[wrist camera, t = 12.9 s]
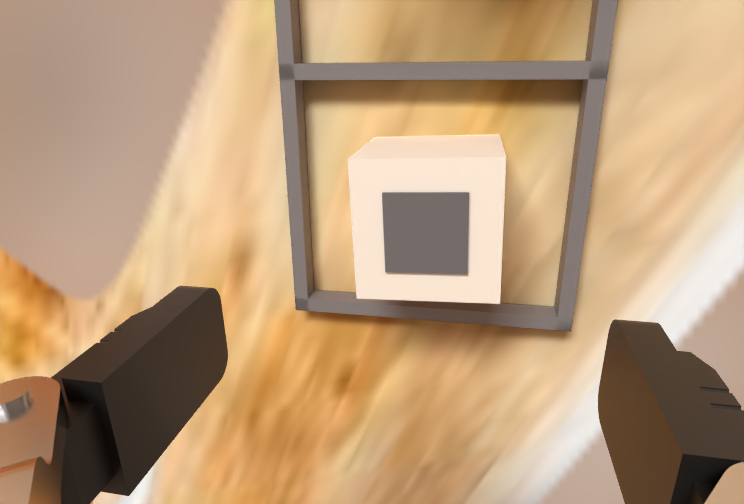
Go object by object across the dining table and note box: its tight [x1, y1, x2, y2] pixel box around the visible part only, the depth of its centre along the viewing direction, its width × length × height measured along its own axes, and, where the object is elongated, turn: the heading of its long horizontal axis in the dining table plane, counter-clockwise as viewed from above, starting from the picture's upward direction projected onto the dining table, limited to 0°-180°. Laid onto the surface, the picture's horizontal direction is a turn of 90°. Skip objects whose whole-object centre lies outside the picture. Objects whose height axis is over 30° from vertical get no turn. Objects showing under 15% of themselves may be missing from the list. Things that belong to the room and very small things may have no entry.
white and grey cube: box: [348, 134, 506, 304], centre depth 20 cm, size 5×5×5 cm
